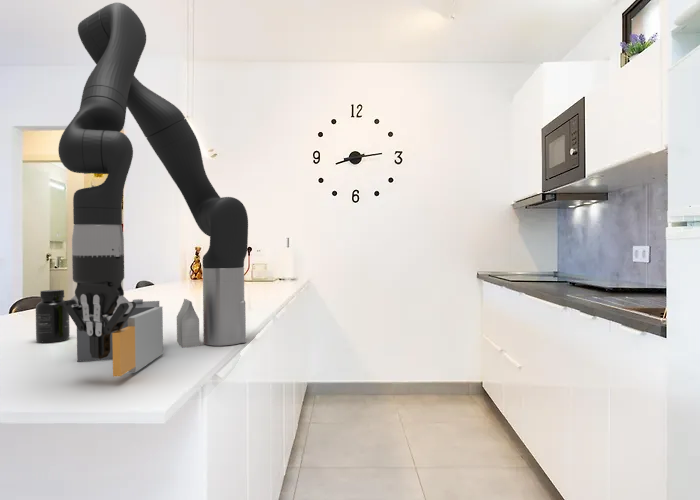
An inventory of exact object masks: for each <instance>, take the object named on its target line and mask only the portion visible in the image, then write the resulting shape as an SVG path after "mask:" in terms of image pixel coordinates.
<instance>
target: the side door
mask: <svg viewBox="0 0 700 500" xmlns="http://www.w3.org/2000/svg"><path fill="white" fill-rule="evenodd" d="M163 313H164V312H163V306H159V307H155V308H152V309H150V310H147V311H144V312H142V313H139V314H136V315H134V316H131V317H129V318H128V327H125V328H123V329H121V330H118V331H116V332H114V333H112V341H113V359H112V377H122V376H123V375H125V374H126V373H137V372H139V371H140V370H141V369H143V368H145V366H147V365H148V364H150V363H152V362H153V361H154V360H156V359H157V358H159V357H160V356H161V355H163V354H164V333H163V332H164V328H163V327H164V325H163V324H164V323H163V322H164V321H163V320H164V319H163V318H164V317H163V316H164V315H163Z"/></svg>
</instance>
